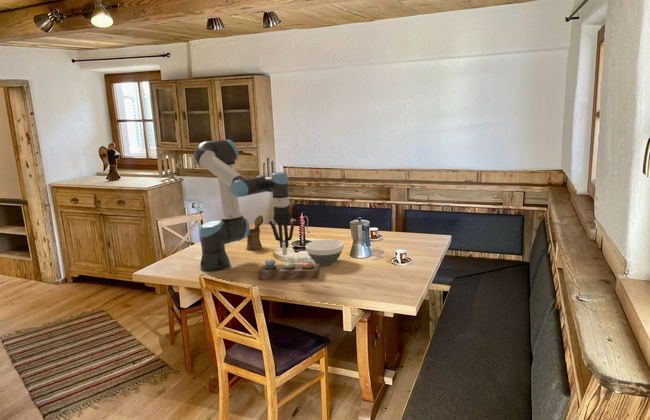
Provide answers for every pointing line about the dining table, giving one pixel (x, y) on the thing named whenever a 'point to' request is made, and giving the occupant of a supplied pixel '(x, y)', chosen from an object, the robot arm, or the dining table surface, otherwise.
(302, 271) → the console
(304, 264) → the rust button
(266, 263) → the slate button
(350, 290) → the dining table surface
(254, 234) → the brown lidded stein
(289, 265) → the sage button
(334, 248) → the bowl
